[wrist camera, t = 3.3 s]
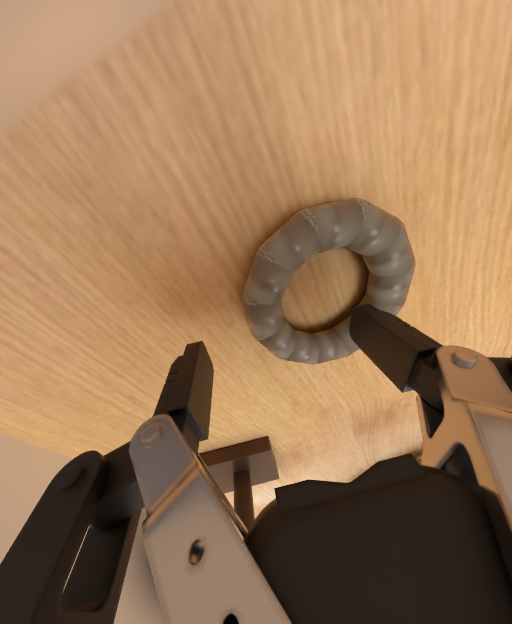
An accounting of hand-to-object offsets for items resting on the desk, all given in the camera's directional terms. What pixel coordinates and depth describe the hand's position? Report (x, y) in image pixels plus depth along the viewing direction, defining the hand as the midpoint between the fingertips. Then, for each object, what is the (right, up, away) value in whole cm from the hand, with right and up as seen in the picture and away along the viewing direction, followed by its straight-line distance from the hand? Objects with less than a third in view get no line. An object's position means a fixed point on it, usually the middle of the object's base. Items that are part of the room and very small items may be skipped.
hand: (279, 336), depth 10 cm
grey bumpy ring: (+4, +2, +3) cm, 5 cm away
